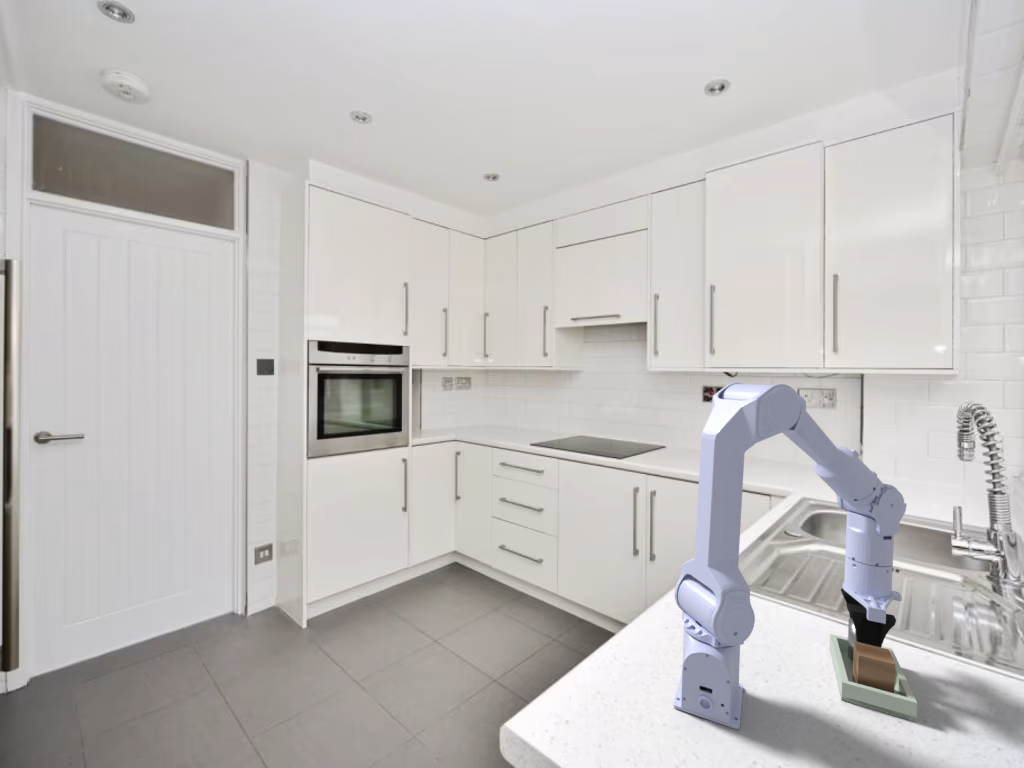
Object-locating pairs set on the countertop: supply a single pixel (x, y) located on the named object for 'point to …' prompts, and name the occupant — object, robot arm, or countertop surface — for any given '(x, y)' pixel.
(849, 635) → the steel cylinder
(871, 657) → the walnut block
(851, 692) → the tray
